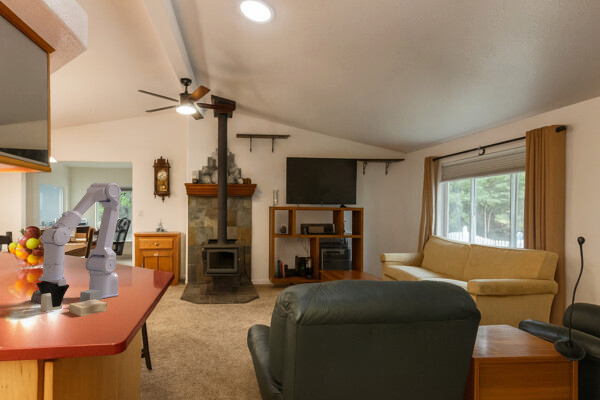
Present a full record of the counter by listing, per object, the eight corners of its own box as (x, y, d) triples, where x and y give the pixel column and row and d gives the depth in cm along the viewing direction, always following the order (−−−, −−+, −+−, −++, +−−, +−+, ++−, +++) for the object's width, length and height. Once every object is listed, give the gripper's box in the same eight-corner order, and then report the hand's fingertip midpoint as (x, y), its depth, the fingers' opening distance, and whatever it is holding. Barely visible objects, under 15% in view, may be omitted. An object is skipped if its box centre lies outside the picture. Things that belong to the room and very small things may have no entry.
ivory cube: (56, 306, 119) (56, 292, 119) (62, 308, 117) (62, 293, 117) (40, 309, 115) (41, 294, 116) (46, 311, 113) (47, 296, 113)
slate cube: (91, 303, 124) (91, 289, 125) (100, 304, 123) (101, 290, 123) (79, 306, 120) (80, 291, 120) (89, 307, 119) (90, 293, 119)
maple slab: (94, 307, 120) (95, 298, 120) (106, 312, 115) (107, 302, 115) (69, 313, 113) (69, 303, 113) (80, 317, 109) (81, 307, 109)
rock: (64, 296, 133) (65, 286, 134) (54, 303, 123) (54, 292, 123) (37, 298, 131) (38, 287, 131) (24, 305, 120) (25, 293, 121)
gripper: (31, 262, 117) (28, 303, 117) (49, 267, 109) (46, 311, 109) (54, 260, 123) (52, 299, 123) (73, 265, 115) (71, 306, 115)
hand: (51, 304), depth 116 cm, fingers open, 7 cm apart
